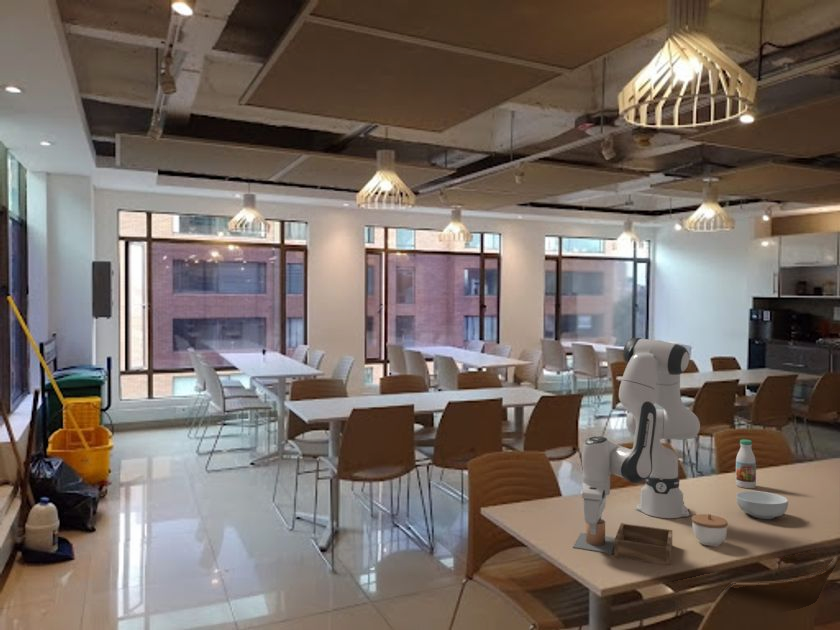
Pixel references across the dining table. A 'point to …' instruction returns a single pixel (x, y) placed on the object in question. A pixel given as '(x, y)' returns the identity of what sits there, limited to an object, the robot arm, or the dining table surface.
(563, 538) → the dining table surface
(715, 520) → the lidded jar
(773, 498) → the cereal bowl
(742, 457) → the milk bottle
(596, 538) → the peach cylinder
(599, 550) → the slate mat
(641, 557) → the wooden frame
